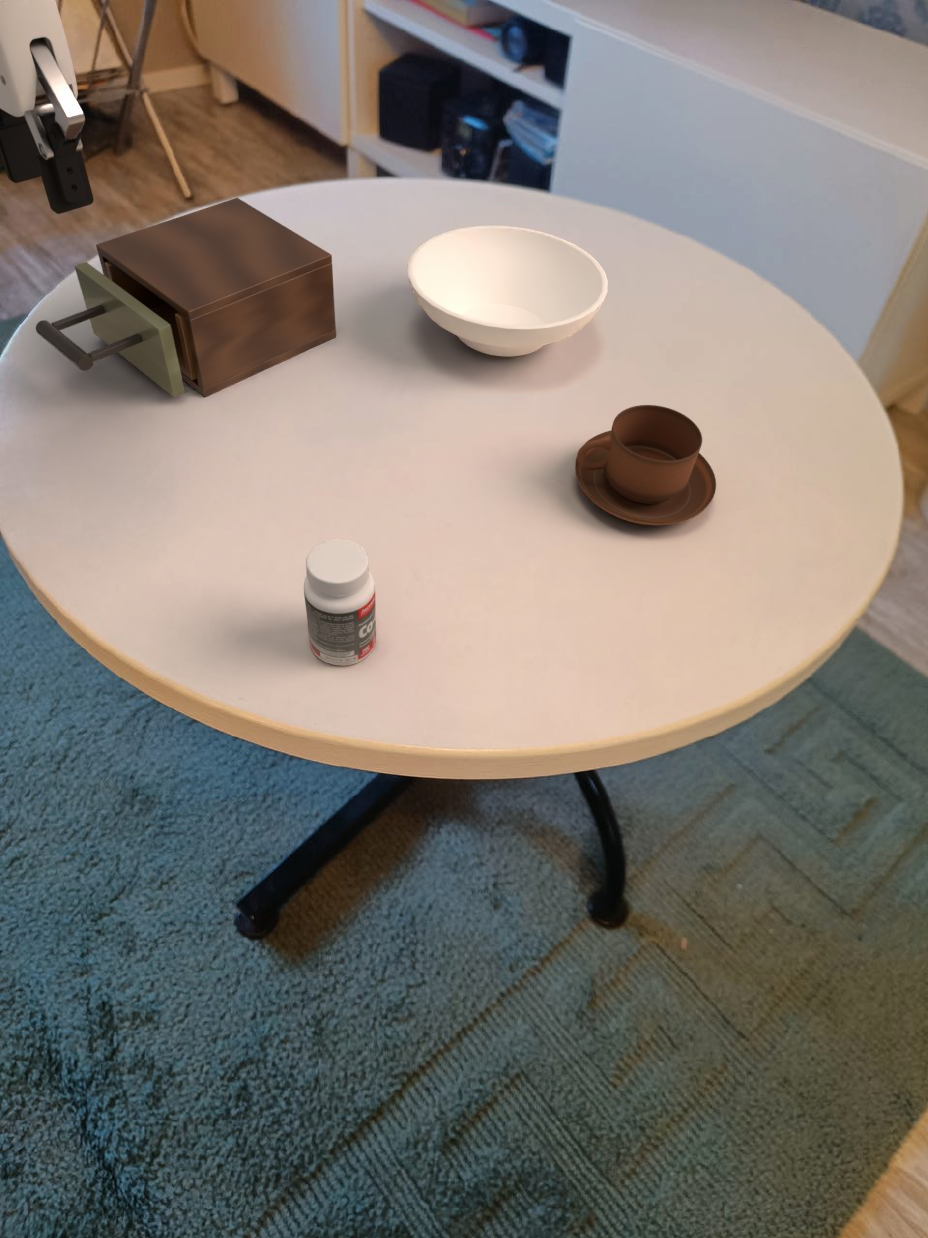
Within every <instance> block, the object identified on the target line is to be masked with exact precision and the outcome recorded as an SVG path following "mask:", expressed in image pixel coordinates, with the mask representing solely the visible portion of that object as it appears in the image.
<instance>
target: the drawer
mask: <svg viewBox="0 0 928 1238" xmlns="http://www.w3.org/2000/svg"><path fill="white" fill-rule="evenodd" d="M105 267H106V271H107V274H108V278H109V279H108V278H107V277H106V276H104V274H103V272H100V271H99V270H97V269H96V268H95V267H94V266H93V265H91V264H90V263H88V261H85V262H82V263H79V264H75V265H74V270H75V273H76V276H77V277H76V278H77V280H78V283H79V286H80V291H81V294H82V297H83V301H84V304H85V308H86V309H85V310H82V311H80V312H77V313H75V314H72V315H69V316H66V317H64V318H61V319H57V320H55V321H53V322H50V321H49V320H44V319H43V320H39V321H38V322H37V323H36V325H35V331H36V333H37V335H38V336H40V337H41V338H43V340H45V341H46V342H47V343H48V344H49V345H50V346H51V347H53V348H54V349H55V350H56V351H58V352H59V353H60V354H61V355H62V356H64V357H65V358H66V359H67V360H68V361H70V362H71V363H72V364H73V365H74V366H75V367H77V368H78V369H79V370H80V371H83V372H87V371H89V370H90V369H92V367H93V365H94V362H97V361H99V360H102V359H104V358H106V357H109V356H112V355H114V354H119V355H120V356H122V357H123V358H124V359H125V360H127V361H128V362H129V363H130V364H132V365H133V366H134V367H135V368H137V369H138V370H139V371H140V372H141V373H143V374H144V375H145V376H146V377H148V378H149V379H150V380H152V381H153V382H154V383H155V384H156V385H157V386H159V387H160V388H161V389H163V390H164V391H165V392H166V393H168V394H169V395H170V396H171V397H173V398H175V397H178V396H180V395H182V394H184V393H185V392H186V391H185V387H184V386H185V385H184V382H183V381H184V380H182V376H181V372H182V373H184V374H185V375H186V376H188V377H189V378H190V379H191V380H194V379H197V375H196V370H195V365H194V360H193V355H192V350H191V344H190V339H189V334H188V329H187V324H186V319H185V317H186V316H184V315H183V314H181V313H180V312H179V311H177V310H176V309H175V308H173V307H172V306H170V305H169V304H168V303H166V302H165V301H164V300H162V299H161V298H159V297H158V296H157V295H155V294H154V293H153V292H151V291H150V290H148V289H147V288H146V287H144V286H143V285H142V284H140V283H139V282H138V281H136V280H135V279H133V278H132V277H131V276H129V275H128V274H127V273H125V272H124V271H122V270H121V269H120V268H118V267H117V266H116V265H114V264H113V263H111V262H110V261H107V262H105ZM85 321H90V324H91V325H90V326H91V328H92V331H93V334H94V335H95V336H97V337H98V338H99V339H101V340H102V341H103V342H104V343H105V344H106V345H104V346H102V347H100V348H97V349H95V350H92V351H90V352H88V353H87V352H86V351H85V350H83V348H81V347H80V346H79V345H78V344H76V342H74V341H73V340H71V339H70V338H69V337H68V336H67V335H65V334H64V333H63V332H62V330H65V329H67V328H70V327H72V326H74V325H78V324H80V323H84V322H85ZM180 371H181V372H180Z"/></svg>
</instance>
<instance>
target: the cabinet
mask: <svg viewBox="0 0 928 1238" xmlns="http://www.w3.org/2000/svg"><path fill="white" fill-rule="evenodd" d="M95 247H96V251H97V255H98V258H99V262H100V266H101V270H102V274H103V275H104V276H106V277H107V278H108V274H107V271H106V267H105V262H107V261H110V262H111V263H113V264H114V265H116V266H117V267H118V268H120V269H121V270H122V271H124V272H125V273H127V274H128V275H129V276H131V277H132V278H133V279H135V280H136V281H138V282H139V283H140V284H142V285H143V286H144V287H146V288H147V289H148V290H150V291H151V292H153V293H154V294H155V295H157V296H158V297H159V298H161V299H162V300H164V301H165V302H166V303H168V304H169V305H170V306H172V307H173V308H175V309H176V310H177V311H179V312H180V313H181V314H183V315H184V316H186V317H185V319H186V324H187V329H188V334H189V339H190V344H191V350H192V355H193V360H194V365H195V370H196V375H197V379H194V380H191V379H190V378H189V377H188V376H186V375H185V374H184V373H182V372H181V371H180V372H181V376H182V381H184V382H185V383H186V384H187V385H189V386H190V387H191V388H193V389H194V391H196V392H197V393H199V394H200V395H201V396H203V397H204V398H206V397H208V396H211V395H213V394H215V393H217V392H219V391H222V390H224V389H226V388H228V387H230V386H232V385H234V384H236V383H239V382H241V381H243V380H245V379H248V378H251V377H252V376H254V375H256V374H258V373H261V372H263V371H265V370H267V369H269V368H271V367H274V366H276V365H278V364H280V363H282V362H284V361H287V360H289V359H290V358H294V357H296V356H298V355H300V354H301V353H305V352H306V351H308V350H311V349H313V348H315V347H317V346H319V345H321V344H324V343H325V342H329V341H330V340H333V339H335V338H336V337H337V329H336V311H335V293H334V273H333V255H332V254H331V253H330V252H328V251H326V250H325V249H323V248H321V247H320V246H318V245H317V244H315V243H313V242H311V241H310V240H308V239H307V238H305V237H303V236H301V235H300V234H298V233H296V232H295V231H293V230H292V229H290V228H288V227H286V226H285V225H283V224H282V223H280V222H278V221H277V220H275V219H273V218H272V217H270V216H268V215H267V214H266V213H263V212H262V211H260V210H259V209H257V208H255V207H254V206H252V205H250V204H248V203H247V202H245V201H244V200H242V199H241V198H239V197H235V198H232V199H228V200H226V201H222V202H220V203H217V204H213V205H211V206H208V207H205V208H202V209H199V210H196V211H193V212H190V213H187V214H184V215H180V216H178V217H175V218H172V219H170V220H165V221H163V222H160V223H157V224H154V225H151V226H148V227H144V228H141V229H138V230H136V231H133V232H129V233H127V234H123V235H121V236H118V237H114V238H112V239H108V240H105V241H103V242H99V243H96V244H95ZM108 279H109V278H108Z"/></svg>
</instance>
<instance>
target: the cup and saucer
mask: <svg viewBox="0 0 928 1238" xmlns="http://www.w3.org/2000/svg"><path fill="white" fill-rule="evenodd" d="M612 421H613V422H612V425H611V430H607V431H603V432H601V433H599V434H596V435H595V436H593V437H591V438H589V439H588V440H587V441H586V442H585V443H584V444H583V445H582V446H581V447H580V448H579V450H578V451H577V454H576V456H575V464H574V465H575V466H574V470H575V477H576V480H577V482H578V485H579V487H580V489H581V490H582V491H583V493H584V494H585V495H586V496H587V498H588V499H589V500H590V501H591V502H592V503H593V504H595V505H596V506H597V507H599V508H600V509H602V510H603V511H605V512H606V513H608V514H610V515H612V516H614V517H616V518H619V519H620V520H624V521H626V522H630V523H632V524H633V523H634V524H638V525H645V526H666V525H675V524H680V523H683V522H686V521H689V520H691V519H693V518H695V517H697V516H699V515H700V514H701V513H702V512H704V511H705V509H707V508H708V506H709V505H710V503H711V502H712V501H713V499H714V497H715V494H716V490H717V480H716V475H715V473H714V472H715V471H714V469H713V468H712V466H711V464H710V463H709V461H708V460H707V459H706V457H704V455H702V454H701V453H700V450H701V448H702V445H703V435H702V432H701V429H700V428H699V426H698V425H697V424H696V422H694V421H693V420H692V419H691V418H689V417H688V416H686V414H684V413H682V412H679V411H678V410H675V409H672V408H669V407H666V406H662V405H656V404H642V405H641V404H640V405H633V406H630V407H628V408H626V409H623V410H622V411H620V412H619V413H618V414H617V415H616V416H615V417H614V419H613V420H612Z"/></svg>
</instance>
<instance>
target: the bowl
mask: <svg viewBox="0 0 928 1238" xmlns="http://www.w3.org/2000/svg"><path fill="white" fill-rule="evenodd" d="M407 278H408V283H409V285H410V288H411V291H412V292H413V295H414V297H415V300H416V302H417V303H418V305H420V307H421V308H422V309H423V310H424V312H425V313H426V315H427V316H428V317H429V318H430V319H431V320H432V321H433V322H434V323H436V325H438V326H439V327H440V328H442V329H444V330H446V331H448V332H449V333H451V334H453V335H454V336H457V338H458V339H459V340H460V341H461V342H462V343H463V344H465V345H466V346H468V347H469V348H471V349H473V350H474V351H477V352H479V353H482V354H486V355H490V356H494V357H495V356H496V357H510V358H511V357H522V356H525V355H529V354H531V353H534V352H537V351H538V350H539V349H541V348H543V347H544V346H545V345H549V344H555V343H557V342H559V341H562V340H565V339H567V338H569V337H571V336H573V335H575V334H576V333H577V332H579V331H580V330H581V329H582V328H583V327H585V326H586V325H587V324H588V323H589V322H590V321H591V320H592V319H593V318H594V317H595V316H596V315H597V313H598V312H599V310H600V309H601V307H602V305H603V303H604V301H605V299H606V297H607V294H608V289H609V280H608V277H607V274H606V271H605V270H604V268H603V267H602V266H601V264H600V263H599V261H598V260H596V259H595V257H593V256H592V255H591V254H590V253H589V252H587V251H586V250H584V249H583V248H581V247H580V246H578V245H576V244H574V243H573V242H570V241H568V240H566V239H564V238H562V237H560V236H557V235H553V234H550V233H547V232H544V231H540V230H536V229H531V228H526V227H519V226H512V225H495V224H494V225H493V224H492V225H491V224H490V225H489V224H488V225H475V226H467V227H461V228H455V229H452V230H448V231H445V232H442V233H439V234H437V235H435V236H432V237H430V238H429V239H427V240H426V241H424V242H423V243H421V244H420V245H419V246H417V247H416V249H415V250H414V251H413V252H412V253H411V255H410V257H409V259H408V263H407Z"/></svg>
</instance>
